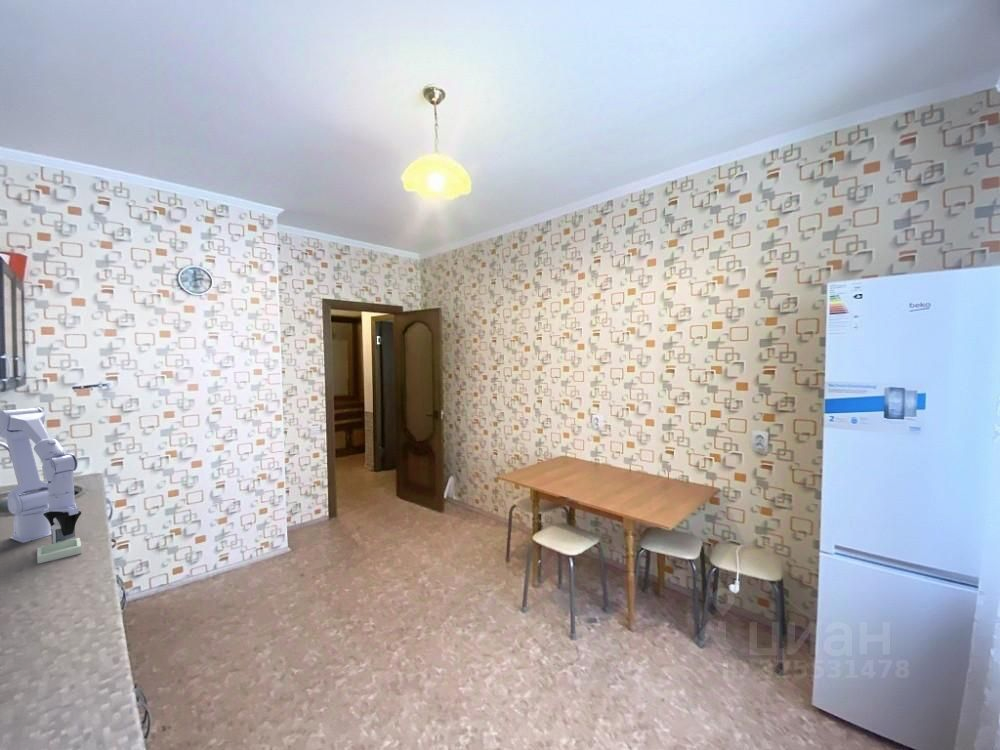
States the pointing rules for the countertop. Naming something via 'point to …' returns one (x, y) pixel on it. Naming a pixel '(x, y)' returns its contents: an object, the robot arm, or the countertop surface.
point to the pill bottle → (59, 533)
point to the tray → (59, 550)
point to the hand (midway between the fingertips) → (63, 533)
